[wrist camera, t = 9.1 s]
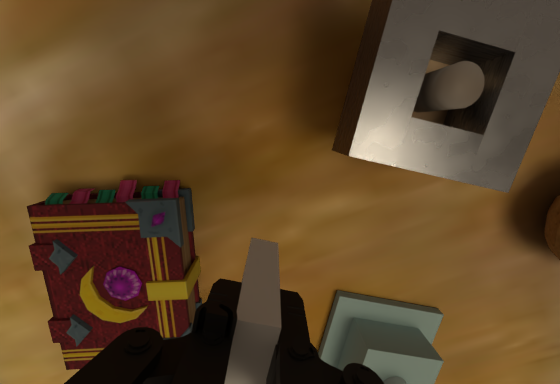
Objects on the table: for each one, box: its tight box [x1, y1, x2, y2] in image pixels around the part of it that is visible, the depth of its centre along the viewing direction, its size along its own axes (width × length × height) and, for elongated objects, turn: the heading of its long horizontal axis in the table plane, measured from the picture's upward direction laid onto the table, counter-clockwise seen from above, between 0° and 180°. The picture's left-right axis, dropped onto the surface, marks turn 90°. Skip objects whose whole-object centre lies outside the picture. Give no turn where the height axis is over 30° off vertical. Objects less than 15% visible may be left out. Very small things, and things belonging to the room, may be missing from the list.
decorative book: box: [27, 180, 202, 370], centre depth 24 cm, size 11×16×5 cm
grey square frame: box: [332, 0, 560, 193], centre depth 17 cm, size 10×10×4 cm
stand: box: [411, 60, 484, 125], centre depth 19 cm, size 7×7×9 cm
